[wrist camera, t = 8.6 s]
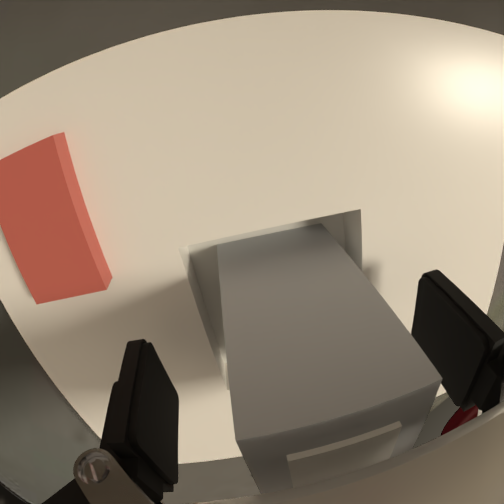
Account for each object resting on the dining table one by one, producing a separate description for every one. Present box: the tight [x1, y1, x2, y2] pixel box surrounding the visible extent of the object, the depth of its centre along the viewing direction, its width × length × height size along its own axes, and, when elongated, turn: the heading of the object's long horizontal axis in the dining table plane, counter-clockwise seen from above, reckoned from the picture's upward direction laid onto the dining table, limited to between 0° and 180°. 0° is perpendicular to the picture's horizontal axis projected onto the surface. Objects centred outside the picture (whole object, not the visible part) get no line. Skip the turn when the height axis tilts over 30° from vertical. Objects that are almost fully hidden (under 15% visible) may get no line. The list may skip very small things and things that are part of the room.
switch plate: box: [0, 10, 504, 464], centre depth 12 cm, size 22×20×3 cm
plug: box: [217, 223, 443, 494], centre depth 10 cm, size 4×5×8 cm
